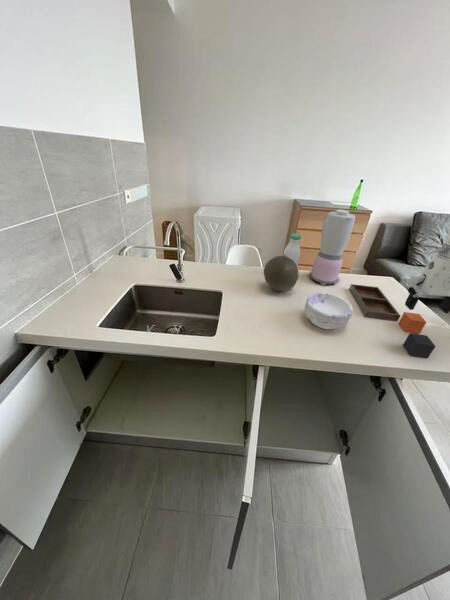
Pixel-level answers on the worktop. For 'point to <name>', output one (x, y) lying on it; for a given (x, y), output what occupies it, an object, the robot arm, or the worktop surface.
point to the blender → (332, 246)
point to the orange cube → (412, 322)
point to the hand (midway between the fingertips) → (425, 308)
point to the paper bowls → (328, 310)
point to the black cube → (418, 345)
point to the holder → (373, 302)
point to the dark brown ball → (281, 273)
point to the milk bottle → (293, 248)
